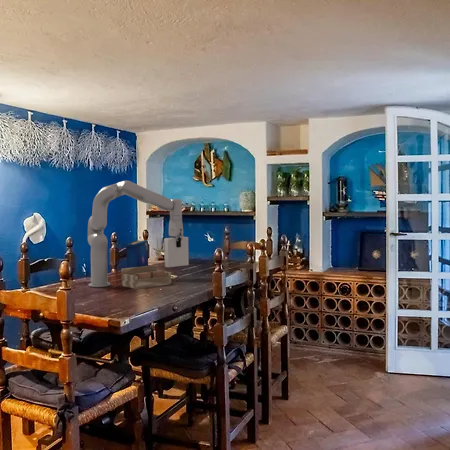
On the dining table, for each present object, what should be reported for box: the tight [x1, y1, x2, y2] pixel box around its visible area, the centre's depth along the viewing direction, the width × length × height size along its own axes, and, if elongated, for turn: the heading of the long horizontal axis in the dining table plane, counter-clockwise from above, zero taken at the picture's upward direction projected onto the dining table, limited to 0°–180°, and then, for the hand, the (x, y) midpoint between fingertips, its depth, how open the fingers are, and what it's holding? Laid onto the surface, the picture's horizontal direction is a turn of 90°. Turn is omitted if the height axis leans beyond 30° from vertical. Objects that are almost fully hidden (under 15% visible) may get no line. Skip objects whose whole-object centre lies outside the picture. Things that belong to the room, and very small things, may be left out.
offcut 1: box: [135, 272, 151, 280], centre depth 290 cm, size 4×8×8 cm, turn 132°
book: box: [125, 239, 149, 268], centre depth 313 cm, size 22×7×25 cm, turn 168°
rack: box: [120, 264, 172, 290], centre depth 296 cm, size 17×24×10 cm
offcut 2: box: [150, 270, 166, 278], centre depth 297 cm, size 4×8×8 cm, turn 132°
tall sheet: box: [163, 236, 190, 268], centre depth 315 cm, size 4×16×18 cm, turn 132°
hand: (176, 246), depth 315 cm, fingers closed on tall sheet, 4 cm apart
